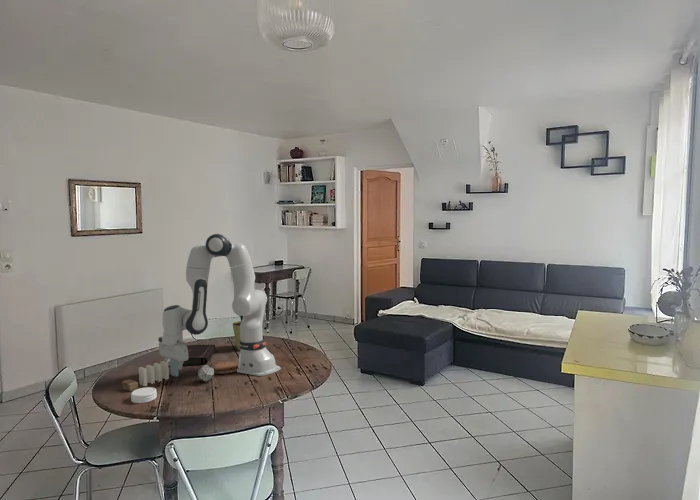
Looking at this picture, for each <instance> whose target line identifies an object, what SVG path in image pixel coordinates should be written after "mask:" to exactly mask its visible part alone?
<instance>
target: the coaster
mask: <svg viewBox="0 0 700 500" xmlns="http://www.w3.org/2000/svg"><path fill="white" fill-rule="evenodd" d="M157 393H158V392H157V388H155V387H151V386H149V387H148V386H145V387H140V388H138V389H137V390H134V391H132V392H130V400H131V402H132V403H134V404H145V403H148V402H152V401H154V400H156V399H157V397H158V395H157Z"/></svg>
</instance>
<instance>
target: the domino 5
mask: <svg viewBox="0 0 700 500" xmlns="http://www.w3.org/2000/svg"><path fill="white" fill-rule="evenodd" d="M177 366H178V360H174V359H171V358H170V375H171V376H172V377H175V378H176V377H179V373H180V372H179V369H177Z"/></svg>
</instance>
